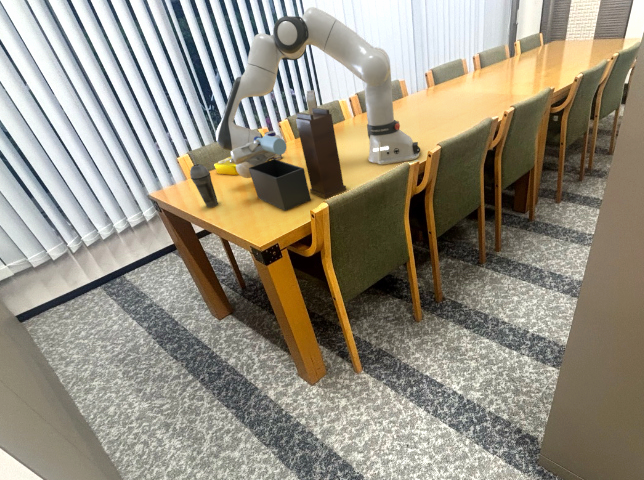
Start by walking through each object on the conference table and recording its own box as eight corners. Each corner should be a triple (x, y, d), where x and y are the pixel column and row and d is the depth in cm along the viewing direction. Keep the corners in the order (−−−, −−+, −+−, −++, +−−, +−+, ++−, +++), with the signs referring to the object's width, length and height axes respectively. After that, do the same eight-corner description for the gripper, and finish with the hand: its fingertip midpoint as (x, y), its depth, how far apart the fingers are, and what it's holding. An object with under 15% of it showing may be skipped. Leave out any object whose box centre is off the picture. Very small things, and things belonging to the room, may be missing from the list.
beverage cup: (205, 210, 152) (182, 157, 139) (202, 205, 157) (179, 152, 144) (223, 205, 154) (202, 151, 141) (219, 199, 159) (199, 147, 146)
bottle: (253, 149, 143) (248, 134, 140) (265, 146, 145) (261, 131, 142) (275, 156, 132) (271, 140, 129) (288, 152, 135) (284, 136, 131)
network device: (311, 131, 226) (302, 91, 213) (326, 128, 226) (318, 88, 213) (311, 143, 206) (301, 99, 193) (327, 140, 206) (319, 96, 193)
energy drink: (279, 160, 190) (272, 133, 182) (269, 161, 191) (262, 134, 184) (283, 156, 194) (276, 130, 186) (273, 157, 195) (266, 131, 187)
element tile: (238, 175, 180) (234, 164, 177) (215, 174, 187) (211, 163, 184) (259, 164, 189) (256, 153, 186) (237, 163, 196) (233, 153, 193)
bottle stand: (310, 193, 152) (292, 113, 134) (331, 184, 156) (316, 106, 138) (325, 198, 145) (308, 116, 127) (346, 189, 149) (332, 108, 131)
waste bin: (258, 198, 155) (248, 168, 147) (282, 188, 160) (274, 158, 152) (285, 211, 141) (276, 178, 134) (311, 200, 146) (303, 168, 138)
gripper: (224, 155, 147) (231, 140, 135) (271, 140, 155) (281, 124, 143) (233, 172, 148) (240, 158, 136) (279, 155, 157) (290, 141, 145)
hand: (262, 140), depth 140 cm, fingers closed on bottle, 2 cm apart
